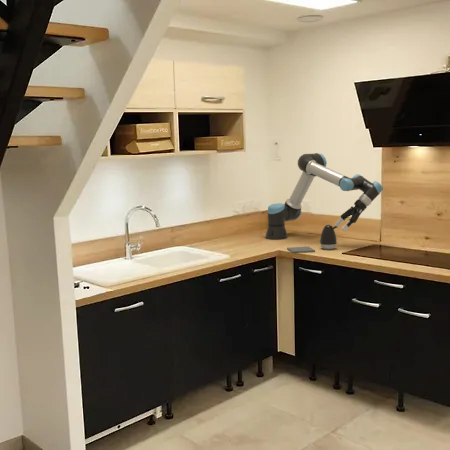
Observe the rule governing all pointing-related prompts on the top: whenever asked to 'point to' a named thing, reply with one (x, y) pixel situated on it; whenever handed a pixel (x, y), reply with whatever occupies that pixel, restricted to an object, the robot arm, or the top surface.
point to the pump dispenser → (328, 237)
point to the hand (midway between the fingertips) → (339, 228)
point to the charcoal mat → (300, 249)
